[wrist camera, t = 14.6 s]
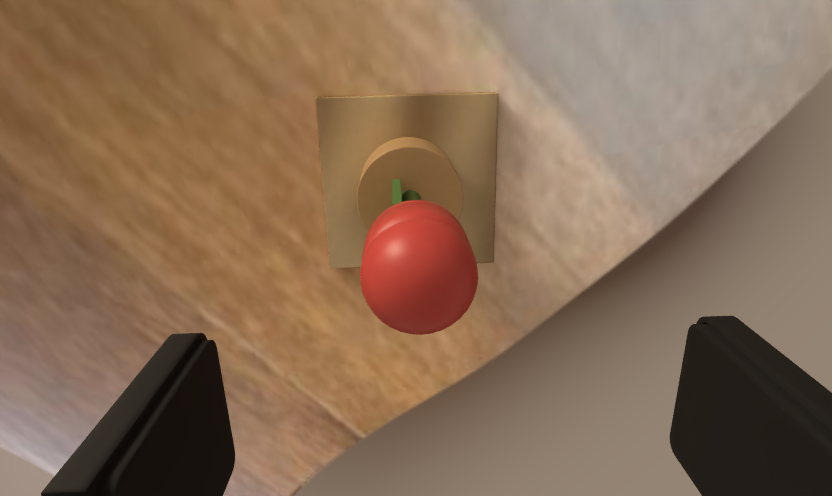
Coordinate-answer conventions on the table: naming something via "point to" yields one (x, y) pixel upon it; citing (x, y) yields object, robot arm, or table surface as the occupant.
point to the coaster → (395, 118)
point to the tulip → (414, 238)
